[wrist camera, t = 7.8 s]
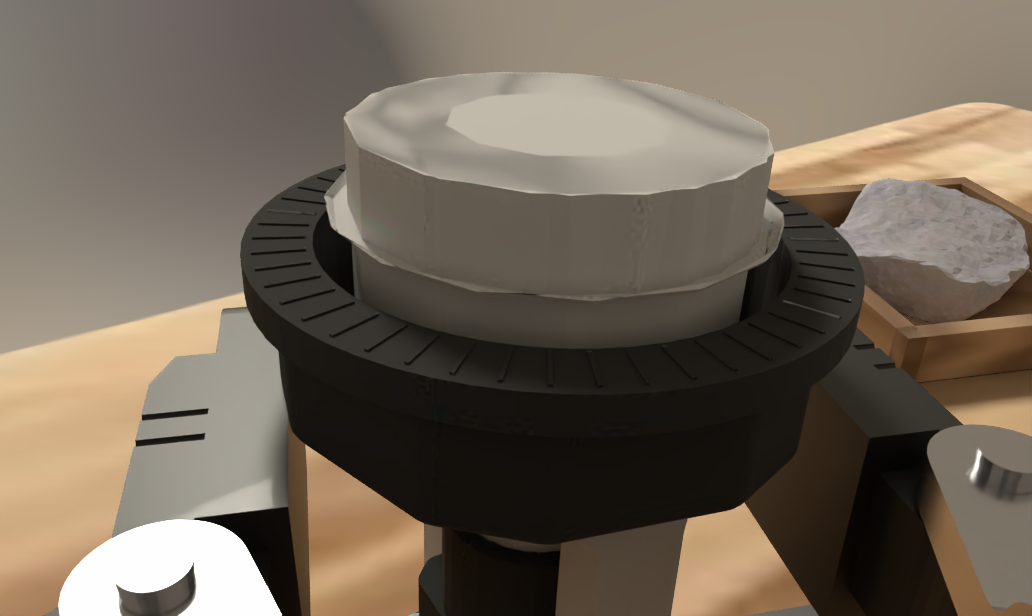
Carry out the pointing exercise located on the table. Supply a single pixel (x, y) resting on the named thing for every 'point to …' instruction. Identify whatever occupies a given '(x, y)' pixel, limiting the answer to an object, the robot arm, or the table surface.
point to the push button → (550, 327)
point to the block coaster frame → (940, 344)
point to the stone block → (934, 249)
